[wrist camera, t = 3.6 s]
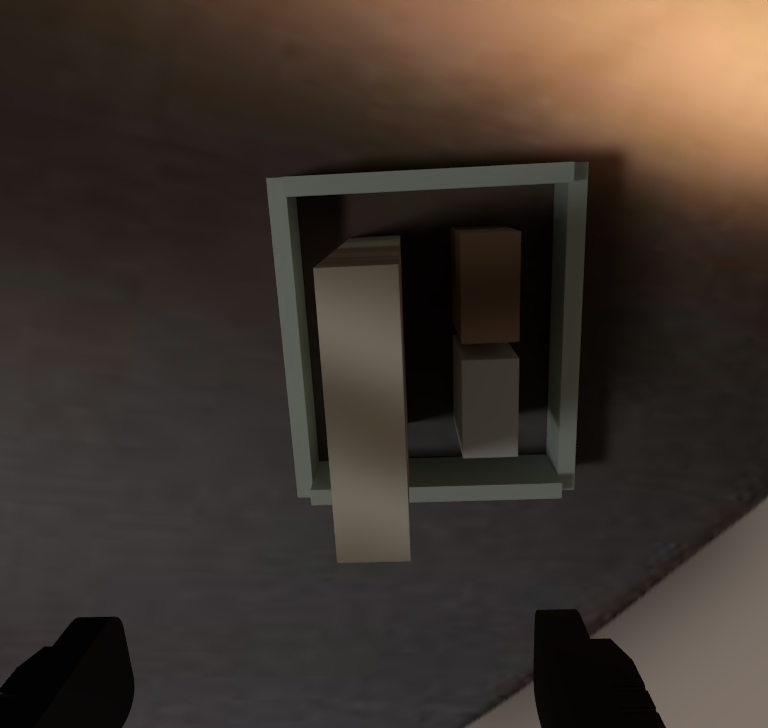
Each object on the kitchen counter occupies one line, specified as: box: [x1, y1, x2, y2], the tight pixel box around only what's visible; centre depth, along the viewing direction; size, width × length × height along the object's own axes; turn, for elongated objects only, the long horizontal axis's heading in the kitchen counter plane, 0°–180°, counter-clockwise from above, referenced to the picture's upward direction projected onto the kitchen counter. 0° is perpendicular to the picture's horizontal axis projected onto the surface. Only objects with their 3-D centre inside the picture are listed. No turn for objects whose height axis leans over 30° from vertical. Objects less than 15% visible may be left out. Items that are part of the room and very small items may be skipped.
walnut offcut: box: [451, 225, 521, 344], centre depth 33 cm, size 6×3×6 cm, turn 3°
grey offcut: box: [452, 334, 519, 458], centre depth 34 cm, size 6×3×6 cm, turn 3°
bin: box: [266, 162, 589, 505], centre depth 35 cm, size 19×17×4 cm
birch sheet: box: [313, 235, 411, 563], centre depth 30 cm, size 12×3×15 cm, turn 3°
